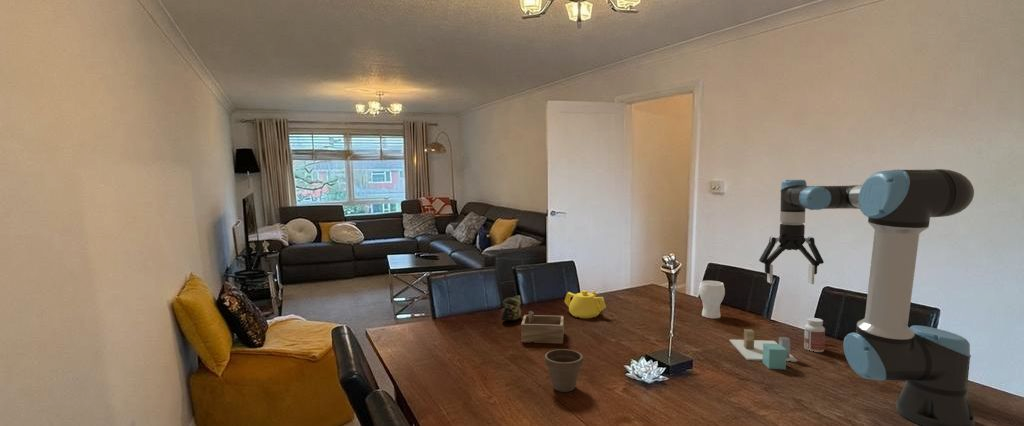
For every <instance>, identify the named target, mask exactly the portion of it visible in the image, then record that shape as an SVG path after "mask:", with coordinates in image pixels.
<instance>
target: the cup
mask: <svg viewBox="0 0 1024 426" xmlns="http://www.w3.org/2000/svg"><path fill="white" fill-rule="evenodd" d="M698 294H699V297H700V299H701V302H702V307H703V308H702V311H701V316H702V317H704V318H707V319H720V318H722V317H721V309H720V307H721V303H722V302H723V300H724V297H725V295H726V289H725V284H724V282H721V281H718V280H702V281H700V282H699V286H698Z"/></svg>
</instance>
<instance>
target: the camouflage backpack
mask: <svg viewBox="0 0 1024 426" xmlns="http://www.w3.org/2000/svg"><path fill="white" fill-rule="evenodd" d="M521 305H522V302H521V296H520V295H515V296H513V297H507V298H505V299H503V301H502V306H503V309H504V311H503V312H502V316H501V320H502V321H516V320H518V319H520V317H521V315H522V310H521V307H520V306H521Z"/></svg>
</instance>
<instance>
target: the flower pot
mask: <svg viewBox="0 0 1024 426" xmlns="http://www.w3.org/2000/svg"><path fill="white" fill-rule="evenodd" d="M583 358H584V356H583V354H582V353H581V352H579V351H576V350H572V349H565V348H563V349H560V348H558V349H554V350H553V349H552V350H550V351H547V352H546V353H545V355H544V362H545V366H547V368H548V371H549V376H550V380H551V384H552V388H553V390H556V391H557V392H561V393H568V392H571V391H573V390H574V389H575V387H576V384H577V380H578V376H579V371H580V368H581V367H582V366H583V364H584V362H583V361H584V359H583Z"/></svg>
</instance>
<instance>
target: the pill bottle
mask: <svg viewBox="0 0 1024 426" xmlns="http://www.w3.org/2000/svg"><path fill="white" fill-rule="evenodd" d="M806 322H807V323H806V324H805V326H804V335H803V336H804V338H803V339H804V341H803V348H804V349H805V350H806V349H807V351H809V350H810V352H813V351H814V353H823V352H824V351H825V344H826V343H825V341H826V338H825V337H826V328H825V327H824V326H823V324H824V320H823V319H822V318H816V317H808V318H807V320H806Z"/></svg>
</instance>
